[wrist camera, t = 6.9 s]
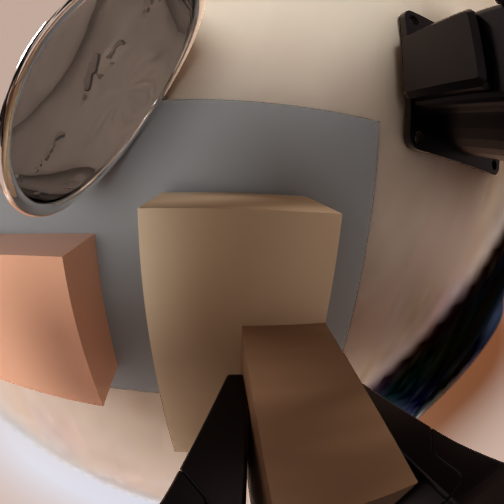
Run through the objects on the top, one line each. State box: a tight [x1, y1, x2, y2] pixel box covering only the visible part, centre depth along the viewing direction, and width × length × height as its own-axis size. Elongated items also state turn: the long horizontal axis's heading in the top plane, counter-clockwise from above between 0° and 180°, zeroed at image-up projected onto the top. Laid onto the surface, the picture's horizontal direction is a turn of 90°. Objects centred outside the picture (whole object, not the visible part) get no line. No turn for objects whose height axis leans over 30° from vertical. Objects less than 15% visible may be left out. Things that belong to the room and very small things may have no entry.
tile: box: [0, 233, 118, 406], centre depth 8 cm, size 6×6×2 cm
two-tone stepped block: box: [137, 192, 418, 504], centre depth 7 cm, size 5×9×8 cm, turn 177°
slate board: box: [0, 99, 379, 393], centre depth 8 cm, size 24×12×3 cm, turn 87°
